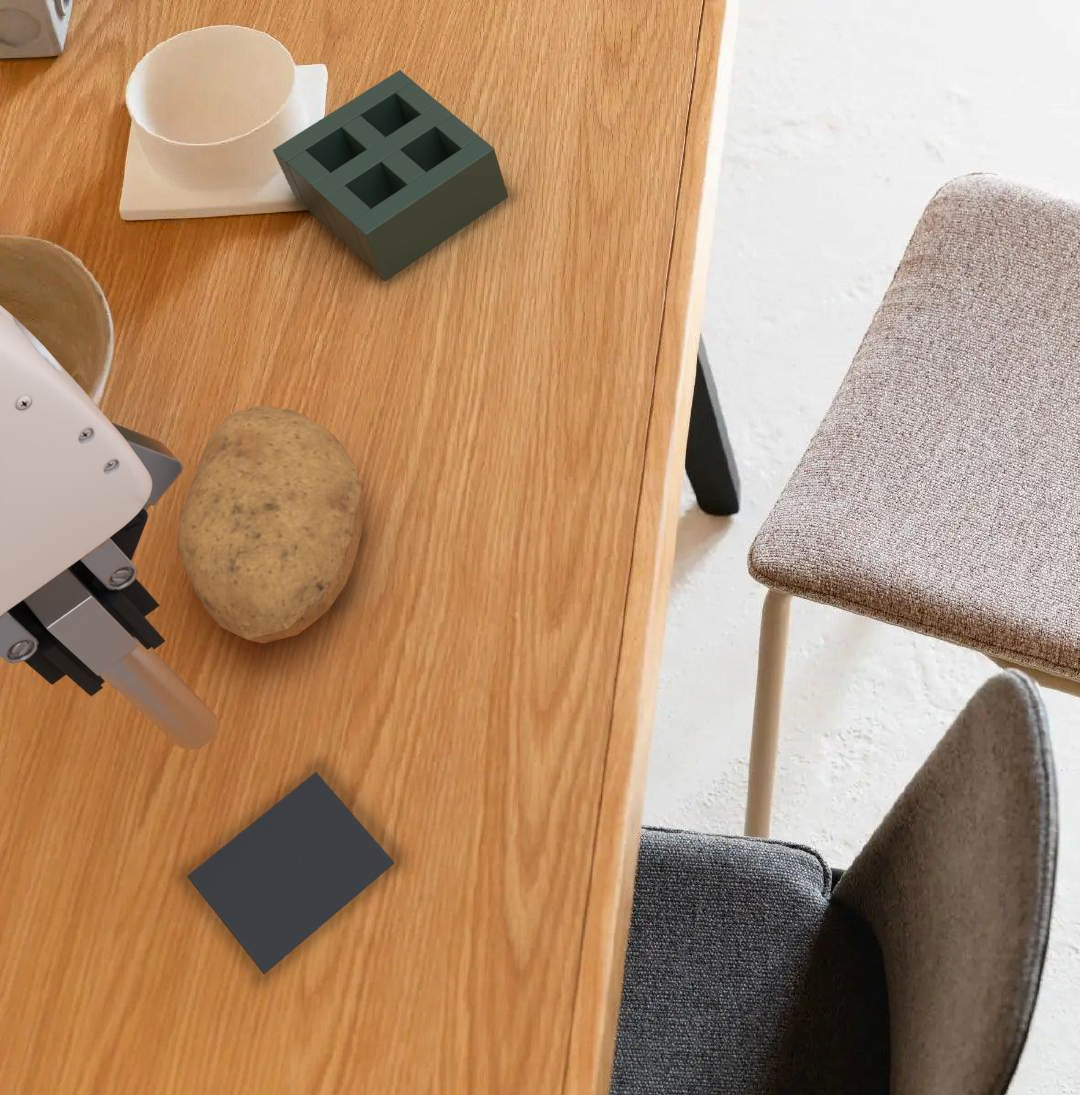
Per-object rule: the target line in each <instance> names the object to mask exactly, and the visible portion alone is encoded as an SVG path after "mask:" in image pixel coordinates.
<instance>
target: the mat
mask: <svg viewBox="0 0 1080 1095" xmlns="http://www.w3.org/2000/svg"><path fill="white" fill-rule="evenodd" d="M394 864H395V862H394V860H393V859H392V858H391V857H390V856H389V855H388V853H387V852H386V850H384V849H383V847H382V846H381V845H380V844H379V843H378V842H377V841H376V840H375V839H374V837H373V836H372V835H371V834H370V832H369V831H368V830H367V829H366V828H365V827H364V826H363V824H362V823H361V822H360V821H359V820H358V819H357V817H356V816H355V815H354V814H353V813H352V811H351V810H350V809H349V808H348V807H347V806H346V804H344V802H343V801H342V800H341V799H340V797H339V796H338V795H337V794H336V793H335V792H334V791H333V789H332V788H331V787H330V786H329V785H328V784H327V782H326V781H325V780H324V778H322V777H321V775H320V774H319V773H318V772H317V771H315V772H314V773H312V774H311V775H309V777H308V778H306V779H305V780H304V781H303V782H301V783H300V784H299V785H298V786H297V787H294V789H293V790H292V791H290V792H289V793H288V794H286V796H284V797H283V798H282V799H281V800H279V801H278V802H276V804H274V805H273V806H272V807H270V808H269V809H268V810H267V811H265V813H263V814H261V815H260V817H258V818H257V819H255V820H254V821H253V822H252V823H251V824H250V825H248V826H247V827H246V828H244V829H243V830H242V831H241V832H239V833H238V834H237V835H236V836H235V837H233V838H232V839H231V840H230V841H228V842H227V843H226V844H224V845H223V846H222V847H221V848H220V849H219V850H218V851H216V852H215V853H213V854H212V855H211V856H210V857H209V858H208V859H206V860H205V861H204V862H203V863H201V864H200V865H199V866H197V867H196V868H195V869H194V870H192V871H191V872H190V873H189V874H188V875H187V879H188V880H189V881H190V882H191V884H192V885H193V886H194V887H195V889H196V890H197V891H198V892H199V894H200V895H201V896H202V897H203V900H205V902H206V903H207V904H208V905H209V906H210V908H211V910H212V911H213V912H214V913H215V914H216V915H217V916H218V918H219V919H220V920H221V921H222V923H223V924H224V925H225V927H226V928H227V929H228V930H229V932H230V933H231V934H232V936H233V937H234V938H235V939H236V941H237V942H238V943H239V945H240V946H241V947H242V948H243V950H244V951H245V952H246V954H247V955H248V957H250V959H251V960H252V961H253V963H254V964H255V965H256V966H257V968H258V969H259V970H260V971H261V973H262V974H263V975H265V974H267V973H268V972H269V971H270V970H271V969H272V968H273V967H275V966H276V965H277V964H279V963H280V962H281V961H282V960H284V959H285V957H287V956H288V955H289V954H290V953H292V952H293V950H295V949H296V948H297V947H299V945H301V944H302V943H303V942H305V941H306V940H307V939H308V938H309V937H310V936H312V934H314V933H315V932H316V931H317V930H318V929H319V928H320V927H322V926H324V924H325V923H327V922H328V921H329V920H330V919H332V917H334V916H335V915H336V914H337V913H338V912H339V911H341V910H342V909H343V908H344V907H345V906H346V905H348V904H349V903H350V902H352V900H354V899H355V898H356V897H357V896H359V895H360V893H362V892H363V891H364V890H366V888H368V887H369V886H370V885H371V884H372V883H374V881H377V879H379V877H380V876H382V875H383V874H384V873H385V872H387V871H388V870H389V869H390V868H391V867H392V866H393V865H394Z"/></svg>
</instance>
